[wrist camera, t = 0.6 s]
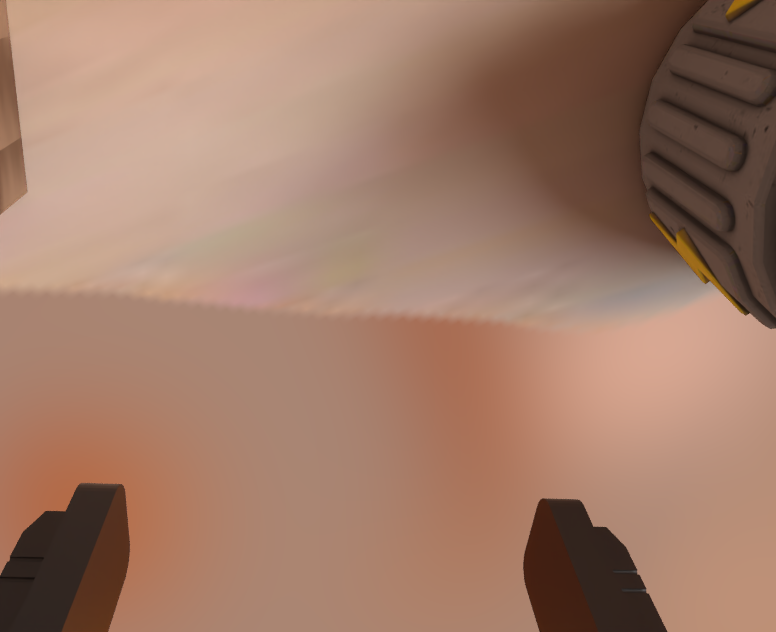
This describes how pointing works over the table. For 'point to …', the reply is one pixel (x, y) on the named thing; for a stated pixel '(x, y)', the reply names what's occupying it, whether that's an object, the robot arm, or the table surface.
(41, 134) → the table surface
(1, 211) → the walnut bar
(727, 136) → the decorative lamp
